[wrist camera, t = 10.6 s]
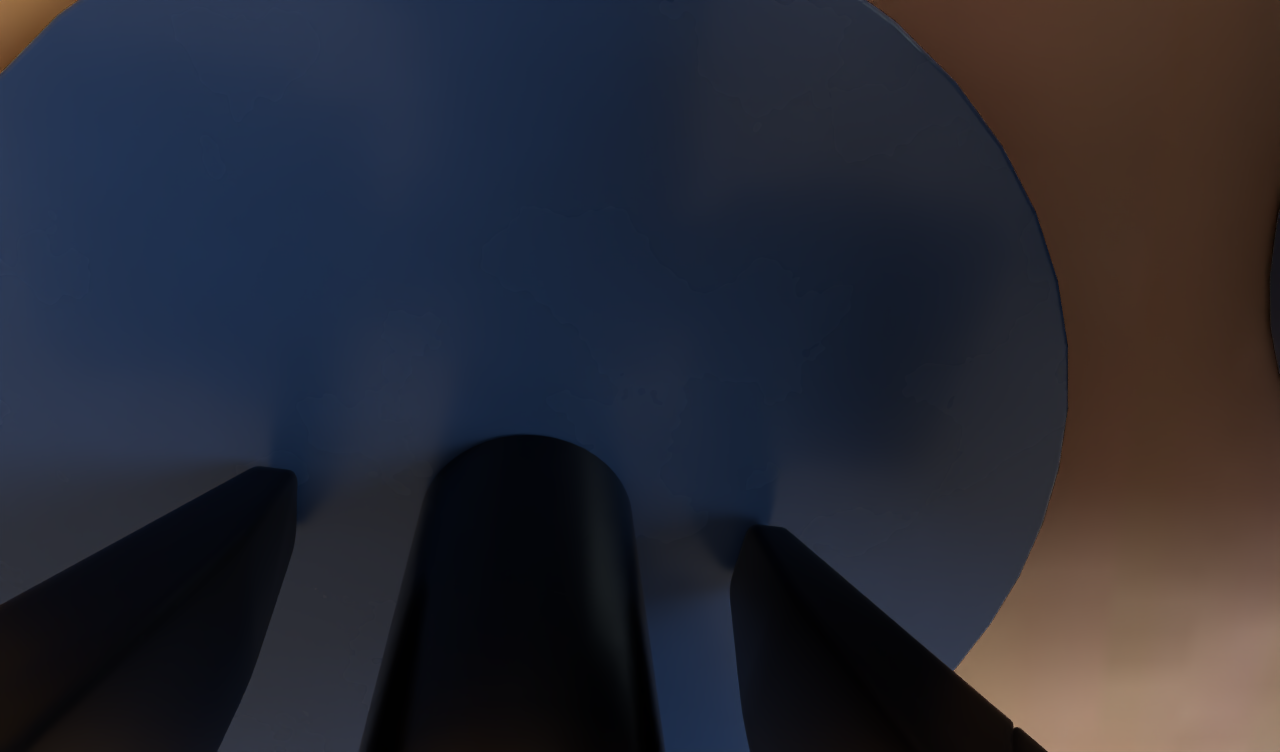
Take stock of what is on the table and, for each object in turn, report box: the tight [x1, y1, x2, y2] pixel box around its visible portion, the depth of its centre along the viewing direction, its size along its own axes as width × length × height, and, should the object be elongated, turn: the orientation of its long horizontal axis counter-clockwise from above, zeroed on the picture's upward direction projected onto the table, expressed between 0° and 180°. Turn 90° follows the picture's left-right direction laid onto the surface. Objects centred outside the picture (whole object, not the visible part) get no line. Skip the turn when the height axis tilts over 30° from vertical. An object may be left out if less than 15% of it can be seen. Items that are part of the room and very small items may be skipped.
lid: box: [0, 0, 1068, 752], centre depth 8 cm, size 13×13×5 cm
